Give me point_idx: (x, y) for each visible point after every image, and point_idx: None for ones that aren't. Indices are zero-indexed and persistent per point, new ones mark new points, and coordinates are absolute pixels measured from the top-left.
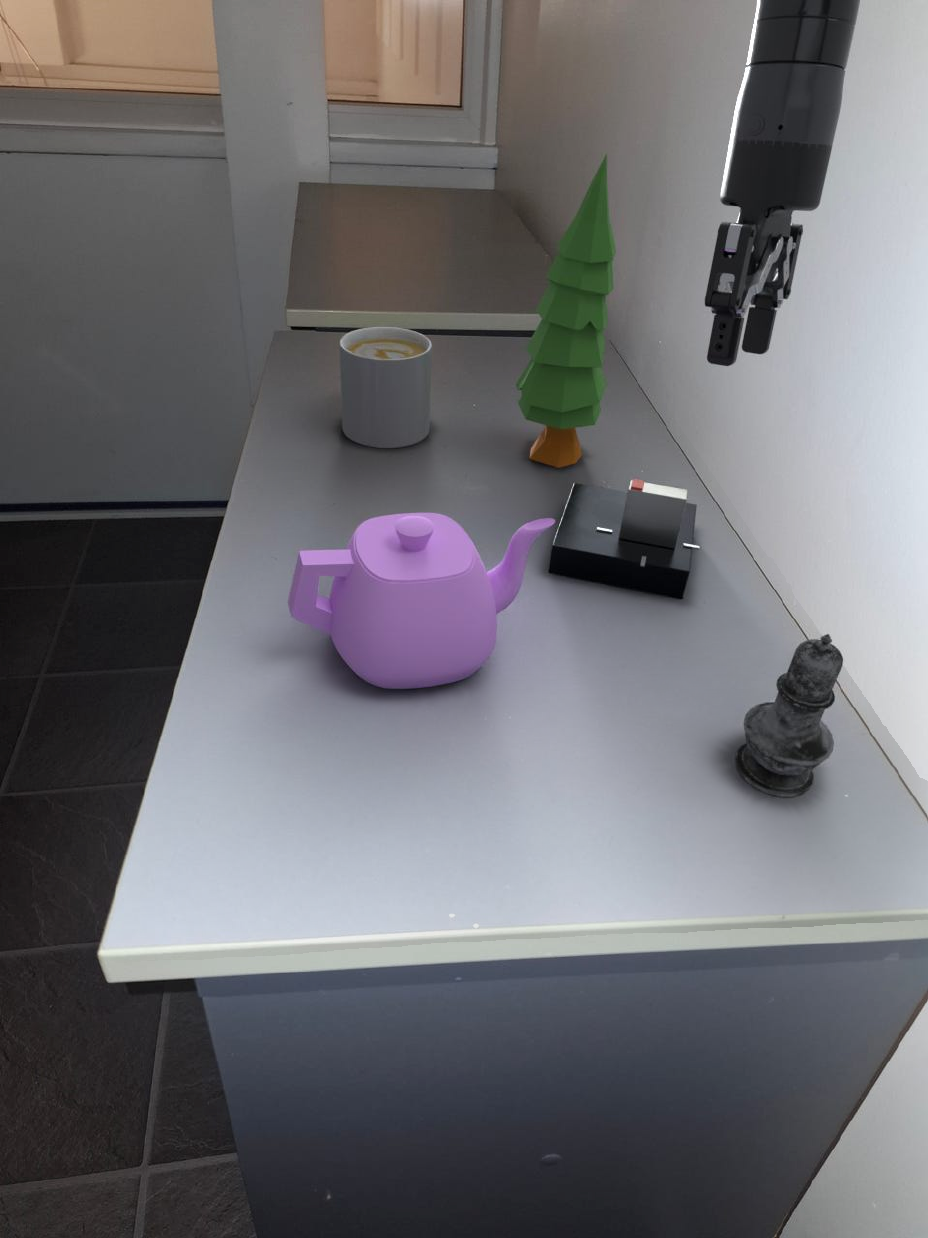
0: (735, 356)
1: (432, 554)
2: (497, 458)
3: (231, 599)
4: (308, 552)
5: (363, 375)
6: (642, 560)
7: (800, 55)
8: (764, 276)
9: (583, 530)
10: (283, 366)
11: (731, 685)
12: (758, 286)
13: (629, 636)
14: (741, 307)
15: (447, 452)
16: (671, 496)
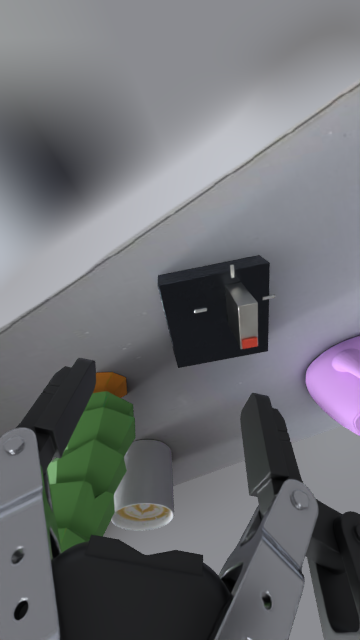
0: (265, 404)
1: None
2: (139, 406)
3: (324, 427)
4: None
5: (173, 500)
6: (269, 298)
7: None
8: (259, 595)
9: None
10: None
11: (355, 194)
12: (285, 561)
13: (312, 275)
14: (315, 509)
15: (151, 426)
16: (257, 315)
